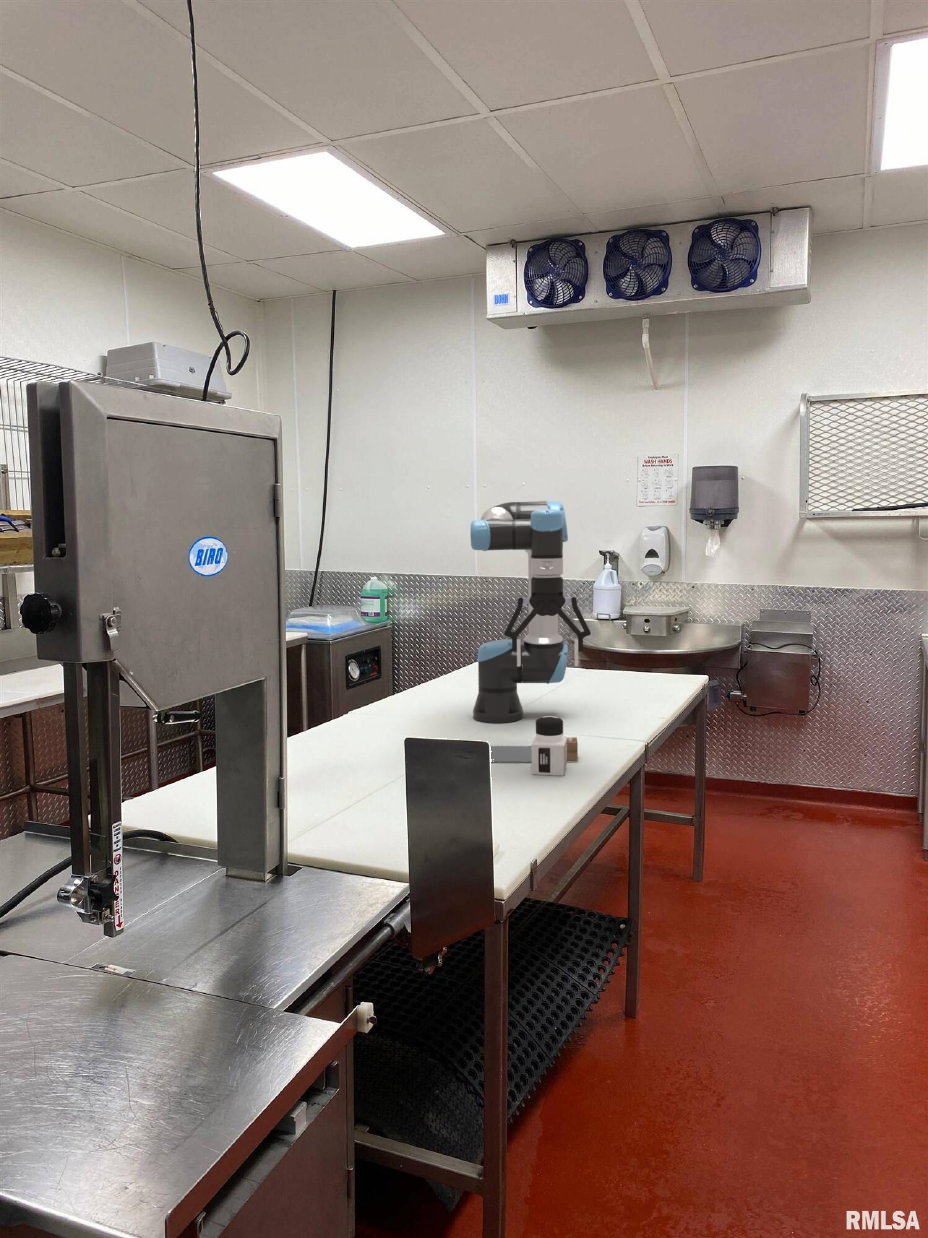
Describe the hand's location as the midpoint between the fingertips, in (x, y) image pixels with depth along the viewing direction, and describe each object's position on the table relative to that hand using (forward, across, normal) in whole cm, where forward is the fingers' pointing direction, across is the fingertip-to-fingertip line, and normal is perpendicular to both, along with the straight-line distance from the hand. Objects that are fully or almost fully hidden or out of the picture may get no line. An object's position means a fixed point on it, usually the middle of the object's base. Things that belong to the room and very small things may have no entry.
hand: (547, 665), depth 206 cm
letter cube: (+26, +5, +10) cm, 28 cm away
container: (+26, 0, 0) cm, 26 cm away
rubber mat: (+26, -9, +13) cm, 30 cm away
